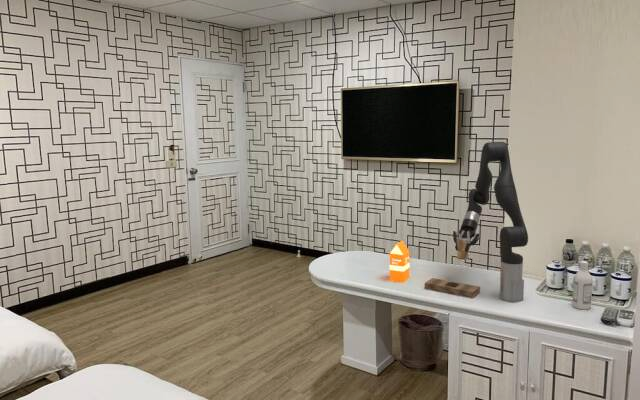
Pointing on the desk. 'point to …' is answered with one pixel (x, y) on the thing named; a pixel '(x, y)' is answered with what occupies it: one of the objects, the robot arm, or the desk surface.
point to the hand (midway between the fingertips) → (461, 250)
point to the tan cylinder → (462, 249)
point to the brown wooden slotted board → (452, 288)
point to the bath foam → (582, 287)
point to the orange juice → (399, 263)
